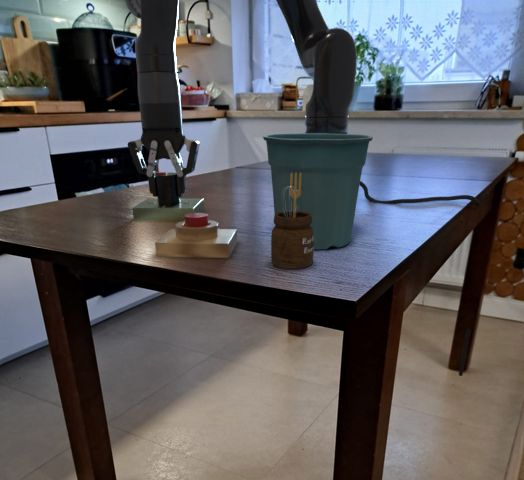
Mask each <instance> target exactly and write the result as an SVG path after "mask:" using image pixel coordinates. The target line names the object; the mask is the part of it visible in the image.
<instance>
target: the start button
mask: <svg viewBox="0 0 524 480" xmlns="http://www.w3.org/2000/svg"><path fill="white" fill-rule="evenodd" d="M184 218H185V226H186V227H204V226H208V225H209V222H208V220H209V214H208V213H206V212H203V213H189V214H186V215H184Z"/></svg>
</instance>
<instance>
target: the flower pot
mask: <svg viewBox="0 0 524 480" xmlns="http://www.w3.org/2000/svg"><path fill="white" fill-rule="evenodd" d="M262 138H263V140H264V141H265V143H266V150H267V151H266V152H267V162H268V163H267V164H268V165H269V166H270V173H271V186H272V199H273V211H274V214H273V215H275V214H276V213H279V212H283V211H289V210H290V211H293V206H294V198H293V197H291V196H290V192H289V189H290V187H289V188H288V187H287V186H290V174H291V173H293V180H292V186H293V187H294V183H295V173H297V190H298V189H299V173H301V174H302V176H301V195H300V196H299V197H298V198H297V199H296V206H297V208H296V211H302V212H307V213H310V214H311V217H312V223H311V225H310V226H311V227H312V229H313V233H314V249H313V250H328V249H329V248H331V247H334V248H341V247H344V246H346V245H349V243H351V240H352V235H353V234H352V233H353V228H354V220H355V215H356V209H357V203H358V198H359V197H358V196H359V190H360V181H361V177H362V172H363V168H364V166H365V165H366V160H367V156H368V155H367V154H368V149H369V144H370V142H372V141H373V138H374V136H372V135H367V134H353V133H347V134H329V133H305V132H303V133H302V132H300V133H299V132H298V133H296V132H295V133H271V134H263V136H262ZM286 187H287V188H286ZM293 187H292V188H293ZM284 188H285V189H286V191H285V189H284ZM292 190H294V188H293V189H292ZM282 191H283V192H282ZM284 192H285V193H284ZM283 195H284V200H283ZM281 196H282V204H281ZM291 200H292V203H291ZM283 204H284V209H282V208H283ZM285 205H286V207H285ZM298 207H299V209H298ZM275 226H276V225H275V224H274V227H275Z"/></svg>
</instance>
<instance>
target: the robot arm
mask: <svg viewBox="0 0 524 480" xmlns="http://www.w3.org/2000/svg"><path fill="white" fill-rule="evenodd" d="M124 1H125V2H124V3H125V5H126V7H127V9H128V11H129V13H131V14H132V16H134V17H135V18H137V19H140V31H139V32H140V33H139V35H138V36H137V37H136V39H135V44H134V50H135V53H134V54H135V61H136V71H137V72H136V73H137V99H138V104H139V113H140V121H141V122H140V123H141V130H142V131H141V136H140V138H139V139H136V140H131V141H128V143H127V148H128V150H129V153H130V156H131V159H132V161H133V163H134V166H135V169H136V171H137V173H138V174H142V175H145V176H146V177H147V181H148V191H149V193H150V195H151V194H152V197H153V198H157V188H156V178H155V173H156V172H158V171H157V170H158V165H159V163H160V160H163V159H164V160H170V161H171V163H172V164H171V165H172V166H173V168H174V170H175V173H177V175H178V177H177V190H178V197H180V198H182V197H184V196H185V194H186V193H187V189H188V188H187V175H190V174H192V173H193V172H195V169H196V164H197V161H198V160H197V159H198V155H199V151H200V150H199V149H200V141H199V140H197V139H196V140H193V139H190V138H187V137H186V135H185V133H184V130H183V116H182V103H181V90H180V89H181V88H180V82H179V78H178V73H177V72H178V68H177V56H176V38H177V32H178V31H177V30H178V20H179V5H180V4H179V3H180V2H179V0H124ZM275 1H276V3H277V5H278V8H279V10H280V12H281V14H282V16H283V17H284V20H285V22H286V25H287V27H288V30H289V32H290V36H291V39H292V41H293V43H294V47H295V49H296V53H297V56H298V59H299V62H300V64H301V66H302V69H303V70H304V72H305V73H306V74H307V76H308V77H309V78H311V79H312V80H313V83H312V84H313V85H312V92H311V96H310V98H309V99H308V101H306V104H305V110H304V113H305V114H304V117H305V119H304V133H329V134H348V129H349V115H350V114H349V113H350V108H351V105H352V103H353V99H354V94H355V84H356V73H357V59H358V58H357V57H358V56H357V53H358V52H357V46H356V42H355V39H354V37H353V36H352V34H351V33H350V32H349V31H348V30H346V29H344V28H342V27H341V28H340V27H333V28H329V26H328V25H327V23H326V20H325V19H324V16H323V15H322V12H321V9H320V8H319V5H318V2H317V0H275ZM184 146H185V147H186V151H187V152H188V158H187V162H186V166H185V165H184V162H183V158H182V156H181V150H182V149H183V148H184ZM143 147H144V148H145V150H146V151H147V152H148V153H149V155H148V158H147V159H148V160H147V164H146V162H145V159H144V157H143V154H142V151H143ZM359 187H361V189H362V190H363V194H364V197H365V200H367V201H368V202H370V203H371V202H372V203H379V204H388V205H398V204H399V205H400V204H421V203H430V202H451V201H459V200H466V201H467V200H468V201H471V202H473V203H474V204H475V205H477V206H479V207H480V206H483V203H482V201H481V200H479V199H478V198H477V197H475V196H473V195H469V194H458V195H451V196H430V197H420V198H419V197H418V198H397V199H390V200H389V199H388V200H380V199H375V198H373V197H372V196H371V195H369V189H368V187H367V185H366V183H364V182H363V181H361V180H360V185H359ZM471 332H472V328H466V332H465V337H464V343H463V346H462V351H461V352H462V353H461V357H460V358H461V359H460V365H459V370H458V376H460V377H463V376H464V375H463V374H464V370H465V369H464V368H465V363H466V357H467V351H468V346H469V341H470V336H471Z"/></svg>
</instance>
